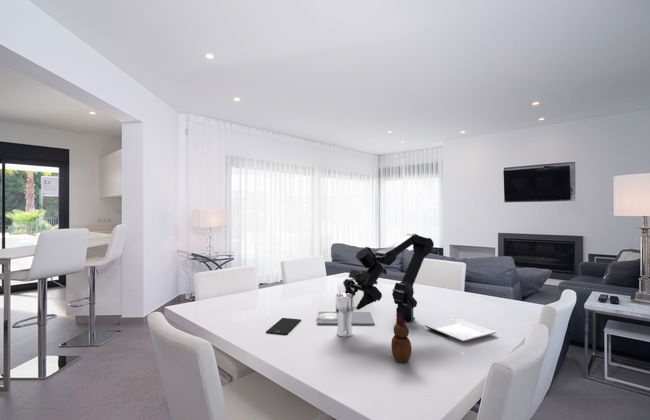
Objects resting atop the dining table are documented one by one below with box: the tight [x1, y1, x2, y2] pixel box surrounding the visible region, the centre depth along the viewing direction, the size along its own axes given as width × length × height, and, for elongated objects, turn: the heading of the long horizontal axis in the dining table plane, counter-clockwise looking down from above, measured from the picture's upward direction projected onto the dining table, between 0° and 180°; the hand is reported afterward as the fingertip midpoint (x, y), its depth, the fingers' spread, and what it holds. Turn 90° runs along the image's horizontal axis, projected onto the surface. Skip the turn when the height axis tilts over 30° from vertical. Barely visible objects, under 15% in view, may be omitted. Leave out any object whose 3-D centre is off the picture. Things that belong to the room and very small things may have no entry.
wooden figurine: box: [390, 311, 413, 364], centre depth 101 cm, size 7×6×15 cm
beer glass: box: [335, 292, 355, 338], centre depth 124 cm, size 7×7×15 cm
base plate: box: [316, 311, 376, 326], centre depth 142 cm, size 24×16×1 cm, turn 89°
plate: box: [424, 318, 497, 343], centre depth 125 cm, size 19×19×2 cm
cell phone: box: [265, 317, 302, 336], centre depth 132 cm, size 9×18×1 cm, turn 166°
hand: (349, 306), depth 125 cm, fingers open, 9 cm apart
